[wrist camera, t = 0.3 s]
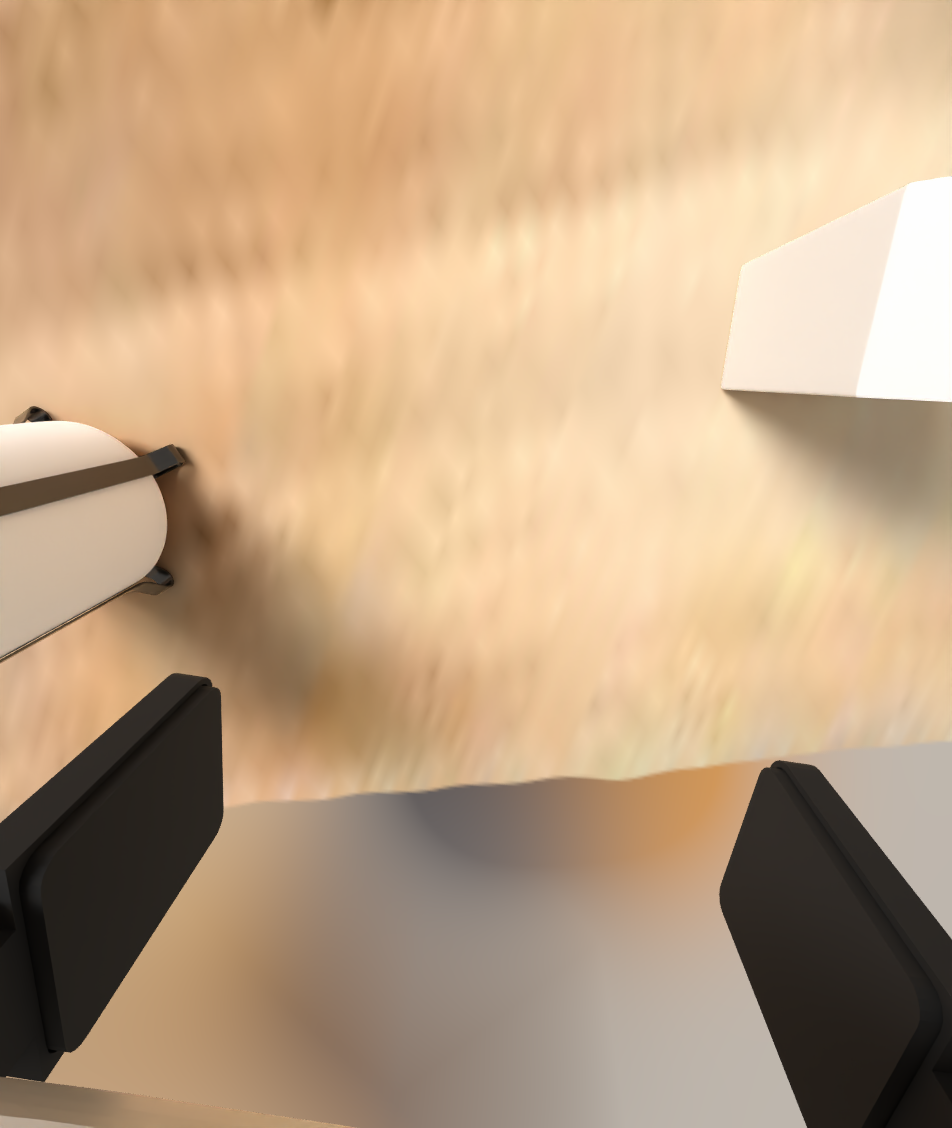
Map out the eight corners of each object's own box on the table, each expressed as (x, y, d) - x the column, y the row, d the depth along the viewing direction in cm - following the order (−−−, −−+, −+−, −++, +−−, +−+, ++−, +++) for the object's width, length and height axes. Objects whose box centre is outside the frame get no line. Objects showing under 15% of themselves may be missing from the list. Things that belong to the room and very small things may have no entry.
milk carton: (718, 389, 36) (927, 401, 18) (740, 264, 34) (1002, 135, 16) (833, 394, 36) (1162, 411, 18) (862, 268, 33) (1274, 141, 15)
